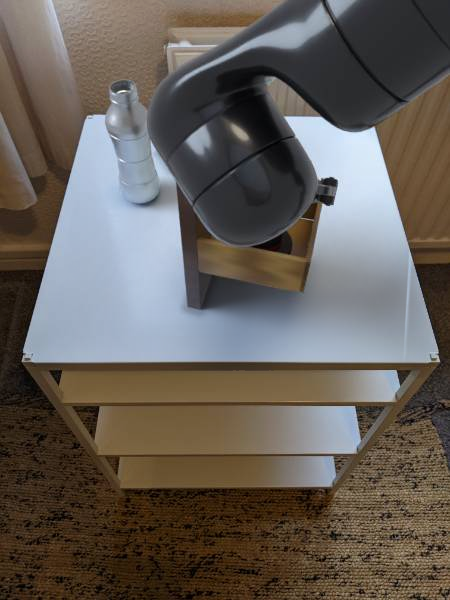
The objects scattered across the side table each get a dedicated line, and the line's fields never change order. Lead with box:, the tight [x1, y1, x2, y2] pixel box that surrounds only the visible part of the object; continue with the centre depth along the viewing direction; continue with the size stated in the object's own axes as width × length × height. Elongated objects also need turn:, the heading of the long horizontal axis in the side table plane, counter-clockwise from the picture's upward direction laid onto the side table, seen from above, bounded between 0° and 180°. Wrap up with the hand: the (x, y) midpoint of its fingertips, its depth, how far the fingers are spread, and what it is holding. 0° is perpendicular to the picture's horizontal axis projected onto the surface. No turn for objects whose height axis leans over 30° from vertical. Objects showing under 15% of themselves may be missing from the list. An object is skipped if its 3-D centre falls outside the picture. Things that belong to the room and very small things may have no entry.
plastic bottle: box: [104, 78, 161, 204], centre depth 77 cm, size 6×7×20 cm
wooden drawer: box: [175, 181, 323, 310], centre depth 63 cm, size 16×13×28 cm
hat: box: [249, 231, 293, 255], centre depth 64 cm, size 7×7×8 cm
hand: (274, 185), depth 60 cm, fingers open, 8 cm apart
